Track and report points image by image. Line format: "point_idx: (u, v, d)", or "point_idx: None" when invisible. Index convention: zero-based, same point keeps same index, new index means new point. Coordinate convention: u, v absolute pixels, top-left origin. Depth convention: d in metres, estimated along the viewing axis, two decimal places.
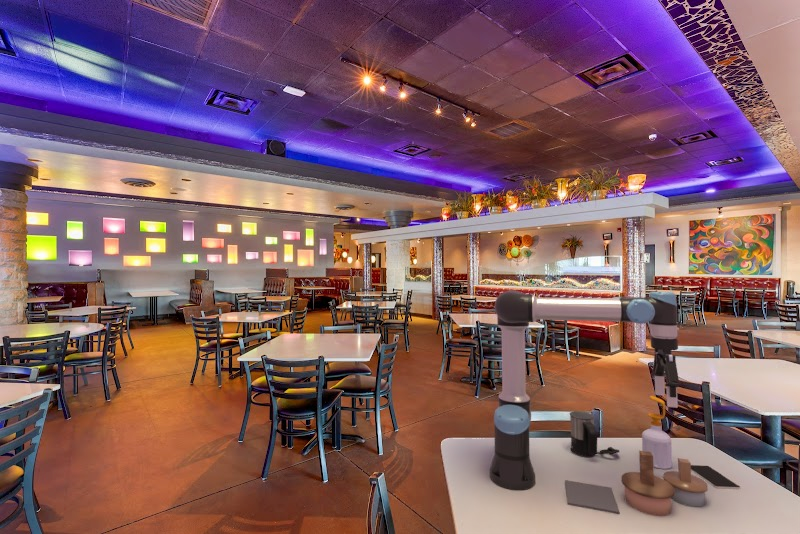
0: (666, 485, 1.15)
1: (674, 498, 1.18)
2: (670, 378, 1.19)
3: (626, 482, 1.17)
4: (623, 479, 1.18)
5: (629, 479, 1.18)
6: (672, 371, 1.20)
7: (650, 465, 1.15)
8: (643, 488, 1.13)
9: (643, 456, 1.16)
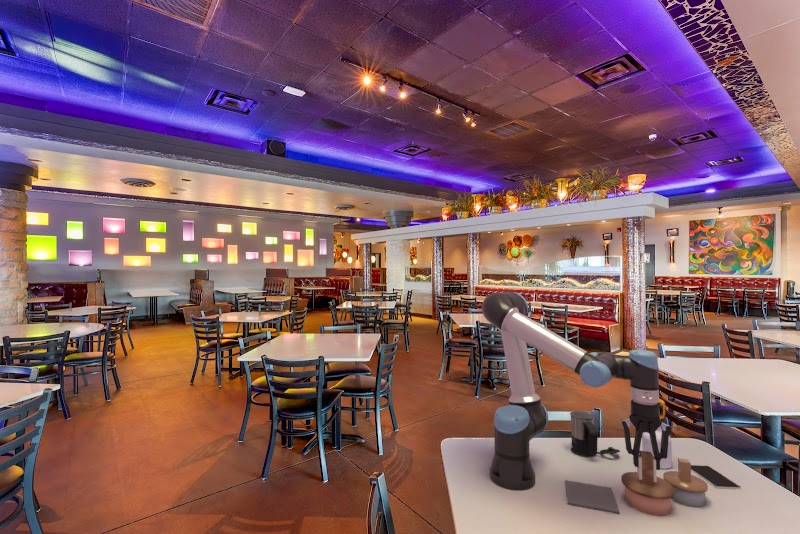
0: (666, 485, 1.15)
1: (674, 498, 1.18)
2: (625, 443, 1.19)
3: (626, 482, 1.17)
4: (623, 479, 1.18)
5: (629, 479, 1.18)
6: (625, 437, 1.19)
7: (650, 465, 1.15)
8: (643, 488, 1.13)
9: (643, 456, 1.16)
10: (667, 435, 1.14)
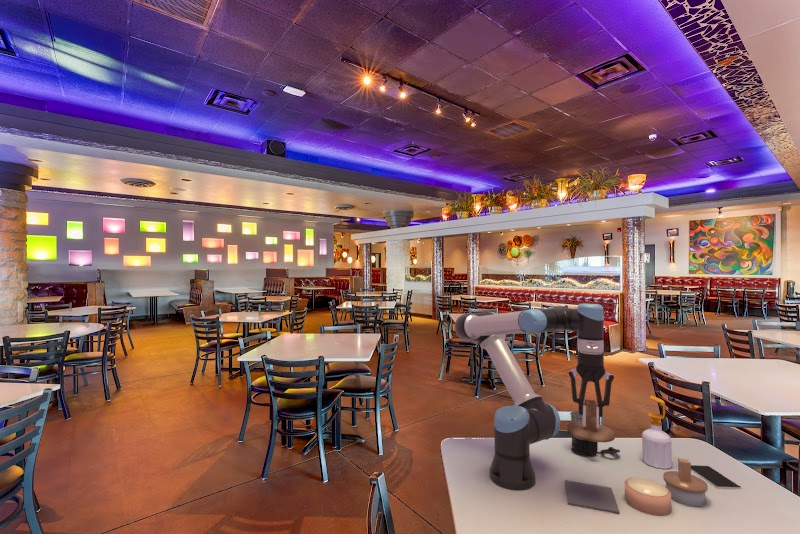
0: (608, 431, 1.20)
1: (674, 498, 1.18)
2: None
3: (571, 429, 1.21)
4: (568, 427, 1.23)
5: (574, 427, 1.23)
6: (571, 387, 1.23)
7: (594, 412, 1.19)
8: (586, 433, 1.18)
9: (587, 404, 1.20)
10: (610, 383, 1.18)
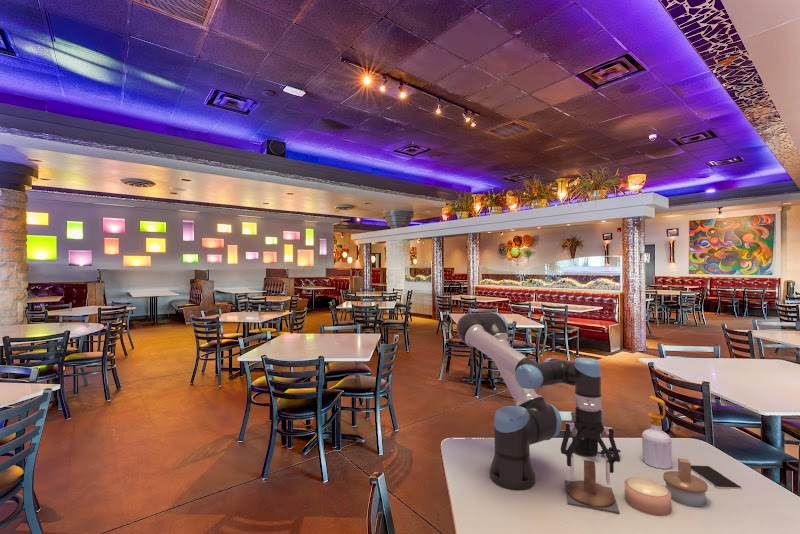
0: (608, 494, 1.18)
1: (674, 498, 1.18)
2: None
3: (570, 491, 1.20)
4: (568, 488, 1.22)
5: (574, 488, 1.22)
6: (563, 438, 1.23)
7: (593, 475, 1.18)
8: (585, 497, 1.17)
9: (586, 466, 1.19)
10: (612, 438, 1.17)
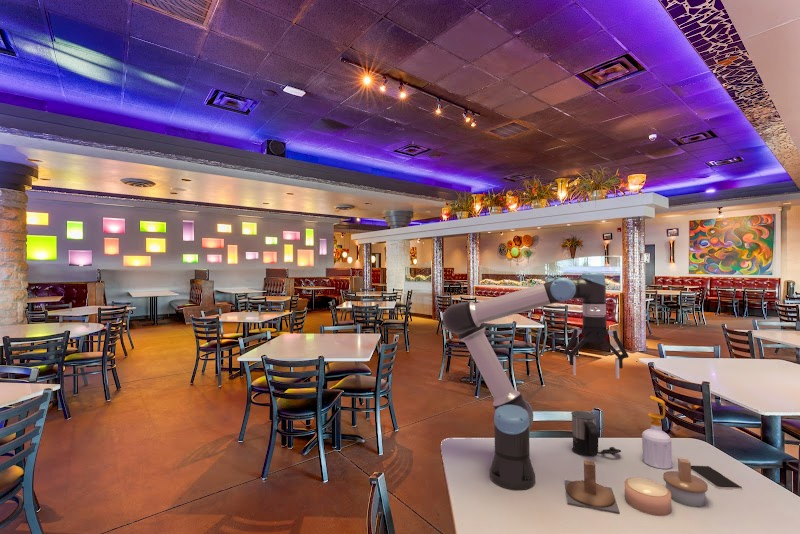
0: (608, 494, 1.18)
1: (674, 498, 1.18)
2: (566, 347, 1.38)
3: (570, 491, 1.20)
4: (568, 488, 1.22)
5: (574, 488, 1.22)
6: (569, 341, 1.37)
7: (593, 475, 1.18)
8: (585, 497, 1.17)
9: (586, 466, 1.19)
10: (617, 338, 1.31)
